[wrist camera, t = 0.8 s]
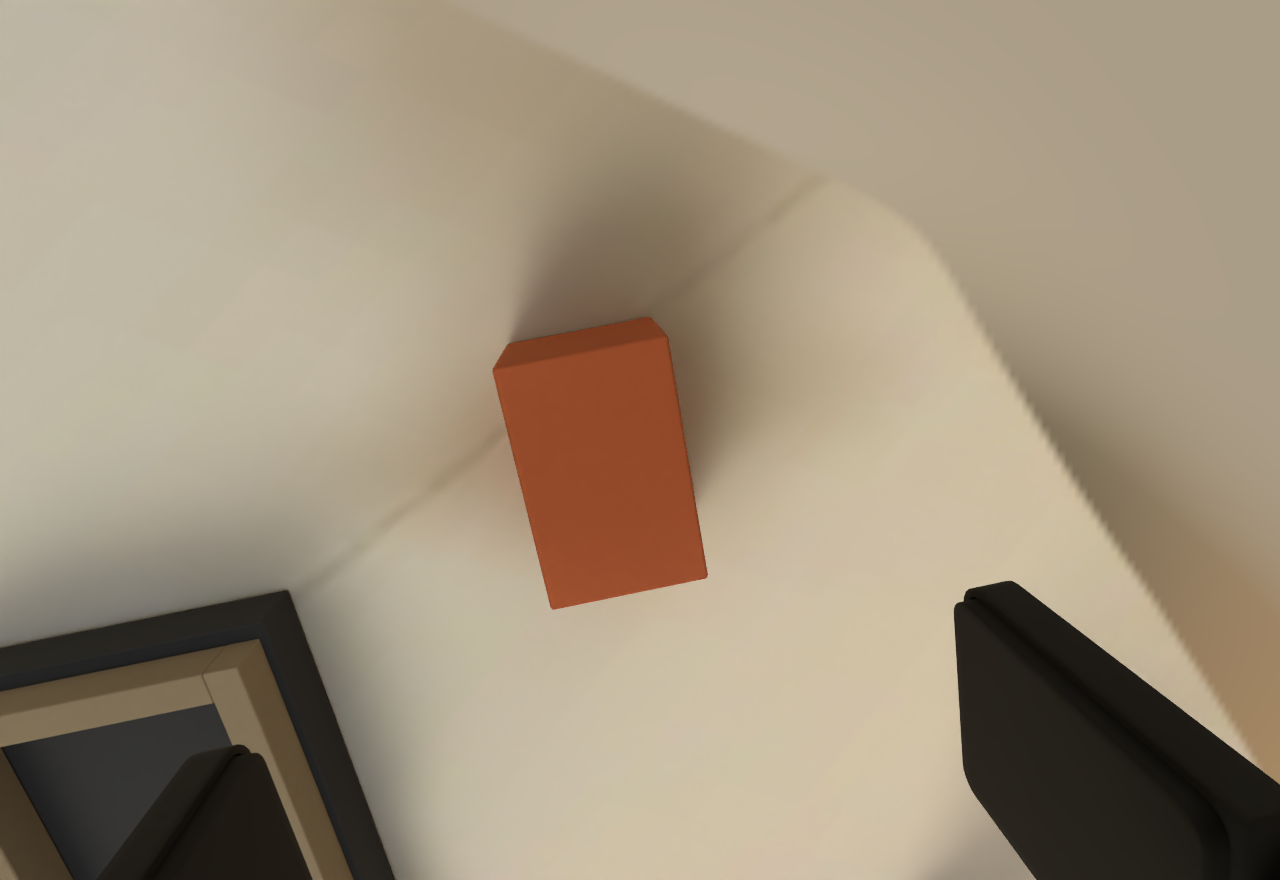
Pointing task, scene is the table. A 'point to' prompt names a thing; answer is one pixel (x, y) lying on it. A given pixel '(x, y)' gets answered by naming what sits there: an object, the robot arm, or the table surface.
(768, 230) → the table surface
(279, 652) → the backrest board
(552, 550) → the orange rectangular block
